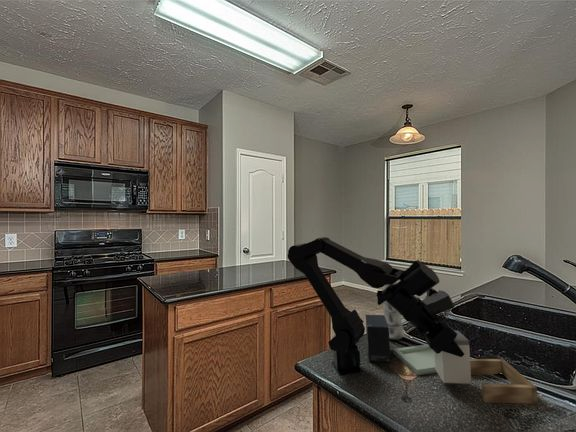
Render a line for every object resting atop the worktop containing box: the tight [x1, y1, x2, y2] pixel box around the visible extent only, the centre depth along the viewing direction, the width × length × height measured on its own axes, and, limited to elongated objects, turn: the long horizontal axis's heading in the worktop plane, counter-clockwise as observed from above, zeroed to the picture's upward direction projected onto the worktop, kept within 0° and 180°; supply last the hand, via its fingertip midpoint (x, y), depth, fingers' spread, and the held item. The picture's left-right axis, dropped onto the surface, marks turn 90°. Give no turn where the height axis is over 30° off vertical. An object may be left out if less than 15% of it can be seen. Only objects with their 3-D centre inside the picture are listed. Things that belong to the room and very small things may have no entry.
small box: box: [364, 314, 391, 363], centre depth 91 cm, size 11×6×10 cm, turn 169°
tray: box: [392, 343, 438, 376], centre depth 85 cm, size 12×12×2 cm
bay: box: [470, 358, 539, 405], centre depth 71 cm, size 10×12×4 cm
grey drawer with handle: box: [434, 330, 472, 384], centre depth 72 cm, size 6×6×11 cm
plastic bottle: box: [382, 282, 405, 341], centre depth 101 cm, size 6×7×20 cm
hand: (457, 349), depth 72 cm, fingers closed on grey drawer with handle, 6 cm apart
